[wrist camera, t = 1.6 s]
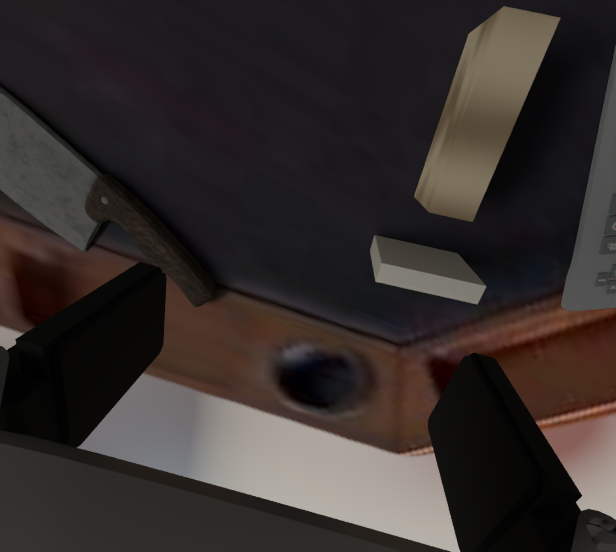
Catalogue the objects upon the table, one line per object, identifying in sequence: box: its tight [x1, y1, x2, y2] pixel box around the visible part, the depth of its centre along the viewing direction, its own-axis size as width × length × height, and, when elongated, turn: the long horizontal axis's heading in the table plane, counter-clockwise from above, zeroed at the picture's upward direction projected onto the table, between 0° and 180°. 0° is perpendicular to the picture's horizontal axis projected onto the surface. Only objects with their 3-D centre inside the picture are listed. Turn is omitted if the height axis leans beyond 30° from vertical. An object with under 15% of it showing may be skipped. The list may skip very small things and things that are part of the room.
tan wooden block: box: [414, 6, 560, 222], centre depth 23 cm, size 12×3×6 cm, turn 169°
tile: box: [370, 235, 486, 304], centre depth 28 cm, size 2×8×7 cm, turn 79°
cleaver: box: [0, 87, 217, 307], centre depth 32 cm, size 30×10×2 cm, turn 48°
